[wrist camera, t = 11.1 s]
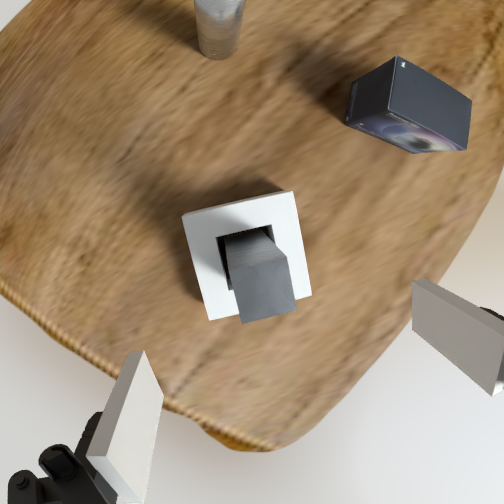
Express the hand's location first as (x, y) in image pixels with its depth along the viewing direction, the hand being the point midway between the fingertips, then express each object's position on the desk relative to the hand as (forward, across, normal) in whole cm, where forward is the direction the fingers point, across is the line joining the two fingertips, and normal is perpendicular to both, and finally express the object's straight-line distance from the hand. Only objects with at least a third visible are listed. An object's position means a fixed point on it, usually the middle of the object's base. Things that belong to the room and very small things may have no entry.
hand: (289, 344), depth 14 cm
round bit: (+22, +2, +24) cm, 33 cm away
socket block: (+22, 0, 0) cm, 22 cm away
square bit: (+22, 0, 0) cm, 22 cm away
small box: (+22, +20, +12) cm, 32 cm away
